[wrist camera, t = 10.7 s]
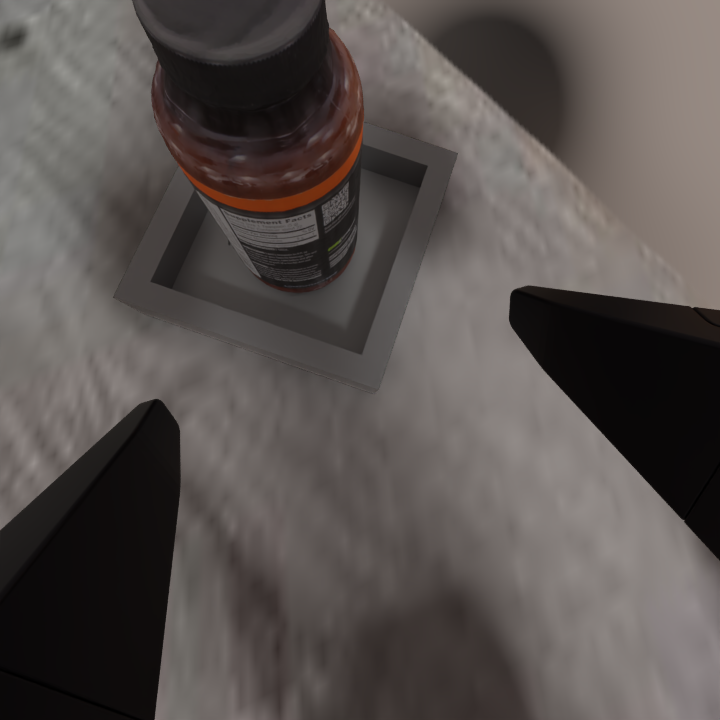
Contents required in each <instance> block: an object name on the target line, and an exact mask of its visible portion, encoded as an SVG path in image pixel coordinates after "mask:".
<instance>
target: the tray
mask: <svg viewBox="0 0 720 720" xmlns="http://www.w3.org/2000/svg"><path fill="white" fill-rule="evenodd" d="M457 155H458V153H456V152H453V151H450V150H447V149H444V148H441V147H438V146H435V145H432V144H429V143H426V142H423V141H420V140H417V139H414V138H411V137H408V136H405V135H402V134H399V133H396V132H393V131H390V130H387V129H384V128H381V127H378V126H375V125H372V124H369V123H366V122H363V144H362V159H361V177H360V197H359V215H358V230H357V241H356V246H355V251H354V254H353V256H352V259H351V261H350V263H349V265H348V266H347V267H346V269H345V270H344V272H343V273H342V274H341V275H340V276H339V277H338V278H337V279H335V280H334V281H333V282H331V283H330V284H328V285H326V286H325V287H323V288H320V289H318V290H314V291H310V292H302V293H293V292H285V291H281V290H277V289H274V288H272V287H270V286H268V285H266V284H265V283H264V282H262V281H260V280H259V279H258V278H257V277H256V276H255V275H254V274H253V273H252V272H251V271H250V270H249V269H248V267H247V266H246V265H245V264H244V262H243V261H242V260H241V258H240V257H239V255H238V253H237V252H236V250H235V249H234V248H233V246H232V244H231V243H230V246H229V245H228V238H227V237H226V235H225V234H224V233H223V231H222V230H221V228H220V227H219V225H218V223H217V222H216V221H215V220H214V218H213V217H212V216H211V214H210V212H209V211H208V209H207V208H206V206H205V204H204V203H203V202H202V200H201V199H200V197H199V196H198V194H197V193H196V191H195V189H194V188H193V186H192V185H191V183H190V181H189V180H188V178H187V177H186V176H185V174H184V173H183V170H182V169H181V167H180V166H179V165H178V167H177V169H176V171H175V173H174V175H173V178H172V180H171V182H170V184H169V186H168V188H167V190H166V192H165V194H164V196H163V198H162V200H161V202H160V204H159V206H158V208H157V210H156V212H155V214H154V216H153V218H152V220H151V222H150V224H149V226H148V228H147V230H146V232H145V234H144V236H143V238H142V240H141V242H140V244H139V246H138V248H137V250H136V252H135V254H134V256H133V258H132V260H131V262H130V264H129V266H128V268H127V270H126V272H125V274H124V276H123V278H122V280H121V282H120V284H119V286H118V288H117V290H116V292H115V294H114V296H113V297H114V298H116V299H118V300H119V301H121V302H123V303H125V304H127V305H129V306H131V307H132V308H134V309H136V310H138V311H140V312H142V313H144V314H146V315H149V316H152V317H155V318H157V319H160V320H163V321H166V322H169V323H172V324H175V325H178V326H180V327H183V328H186V329H189V330H192V331H195V332H198V333H200V334H203V335H206V336H209V337H212V338H215V339H218V340H221V341H223V342H226V343H229V344H232V345H235V346H238V347H241V348H243V349H246V350H249V351H252V352H255V353H258V354H261V355H264V356H266V357H269V358H272V359H275V360H278V361H281V362H284V363H286V364H289V365H292V366H295V367H298V368H301V369H304V370H307V371H309V372H312V373H315V374H318V375H321V376H324V377H327V378H329V379H332V380H335V381H338V382H341V383H344V384H347V385H350V386H352V387H355V388H358V389H361V390H364V391H367V392H370V393H372V394H375V393H376V392H377V391H378V390H379V387H380V384H381V381H382V378H383V375H384V372H385V369H386V366H387V363H388V360H389V357H390V354H391V351H392V348H393V345H394V343H395V340H396V337H397V334H398V331H399V328H400V325H401V322H402V319H403V316H404V313H405V310H406V307H407V304H408V301H409V298H410V295H411V292H412V289H413V286H414V283H415V280H416V277H417V274H418V271H419V268H420V265H421V262H422V259H423V256H424V253H425V250H426V247H427V244H428V241H429V238H430V235H431V232H432V229H433V226H434V223H435V221H436V218H437V215H438V212H439V209H440V206H441V203H442V200H443V197H444V194H445V191H446V188H447V185H448V182H449V179H450V176H451V173H452V170H453V167H454V164H455V161H456V158H457Z"/></svg>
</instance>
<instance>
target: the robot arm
mask: <svg viewBox="0 0 720 720" xmlns="http://www.w3.org/2000/svg"><path fill="white" fill-rule="evenodd" d="M509 321H510V325H511V327H512V328H513V330H514V331H515V332H516V334H517V335H518V336H519V338H520V339H521V340H522V342H523V343H524V345H525V346H526V347H527V349H528V350H529V351H530V353H531V354H532V355H533V357H534V358H535V360H536V361H537V362H538V364H539V365H540V366H541V367H542V369H543V370H544V371H545V372H546V373H547V374H548V375H549V376H550V378H551V379H552V380H553V381H554V382H555V383H556V384H557V385H558V386H559V387H560V388H561V389H562V391H563V392H564V393H565V394H566V395H567V396H568V397H569V398H570V399H571V400H572V401H573V402H574V403H575V405H576V406H577V407H578V408H579V409H580V410H581V411H582V412H583V413H584V414H585V415H586V416H587V417H588V419H589V420H590V421H591V422H592V423H593V424H594V425H595V426H596V427H597V428H598V429H599V430H600V431H601V433H602V434H603V435H604V436H605V437H606V438H607V439H608V440H609V441H610V442H611V443H612V444H613V446H614V447H615V448H616V449H617V450H618V451H619V452H620V453H621V454H622V455H623V456H624V457H625V458H626V460H627V461H628V462H629V463H630V464H631V465H632V466H633V467H634V468H635V469H636V470H637V471H638V472H639V474H640V475H641V476H642V477H643V478H644V479H645V480H646V481H647V482H648V483H649V484H650V485H651V487H652V488H653V489H654V490H655V491H656V492H657V493H658V494H659V495H660V496H661V497H662V498H663V499H664V501H665V502H666V503H667V504H668V505H669V506H670V507H671V508H672V509H673V510H674V511H675V512H676V513H677V515H678V516H679V517H680V518H681V519H682V520H684V522H685V524H686V525H687V526H688V527H689V528H690V529H691V530H692V531H693V532H694V533H695V534H696V535H697V536H698V538H699V539H700V540H701V541H702V542H703V543H704V544H705V545H706V546H707V547H708V548H709V549H710V551H711V552H712V553H713V554H714V555H715V556H716V557H717V558H718V559H719V560H720V310H714V309H706V308H698V307H694V308H691V307H689V306H682V305H675V304H667V303H659V302H652V301H644V300H636V299H629V298H621V297H613V296H606V295H598V294H590V293H583V292H575V291H567V290H560V289H552V288H544V287H537V286H524V287H521V288H517V289H515V290H513V291H512V293H511V296H510V310H509ZM180 483H181V470H180V429H179V425H178V423H177V421H176V420H175V419H174V417H173V416H172V414H171V413H170V412H169V410H168V409H167V407H166V406H165V404H164V403H163V402H162V401H161V400H159V399H153V400H150V401H147V402H144V403H141V404H139V405H138V406H137V407H135V408H134V409H133V410H132V411H131V412H130V413H129V414H128V415H127V416H126V417H124V418H123V419H122V420H121V421H120V422H119V423H118V424H117V425H116V426H115V427H113V428H112V429H111V430H110V431H109V432H108V433H107V434H106V435H105V436H104V437H102V438H101V439H100V440H99V441H98V442H97V443H96V444H95V445H94V446H93V447H91V448H90V449H89V450H88V451H87V452H86V453H85V454H84V455H83V456H82V457H80V458H79V459H78V460H77V461H76V462H75V463H74V464H73V465H72V466H71V467H69V468H68V469H67V470H66V471H65V472H64V473H63V474H62V475H61V476H60V477H58V478H57V479H56V480H55V481H54V482H53V483H52V484H51V485H50V486H49V487H47V488H46V489H45V490H44V491H43V492H42V493H41V494H40V495H39V496H38V497H36V498H35V499H34V500H33V501H32V502H31V503H30V504H29V505H28V506H27V507H25V508H24V509H23V510H22V511H21V512H20V513H19V514H18V515H17V516H16V517H14V518H13V519H12V520H11V521H10V522H9V523H8V524H7V525H6V526H5V527H3V528H2V529H1V530H0V720H154V719H155V710H156V702H157V693H158V684H159V675H160V666H161V657H162V648H163V640H164V631H165V622H166V613H167V604H168V595H169V586H170V578H171V569H172V560H173V551H174V542H175V533H176V524H177V515H178V507H179V498H180Z"/></svg>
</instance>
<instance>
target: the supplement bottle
mask: <svg viewBox="0 0 720 720" xmlns="http://www.w3.org/2000/svg"><path fill="white" fill-rule="evenodd" d="M132 1H133V5H134V8H135V11H136V14H137V16H138V18H139V20H140V22H141V24H142V26H143V28H144V30H145V32H146V34H147V36H148V38H149V40H150V41H151V43H152V45H153V49H154V51H155V53H156V55H157V57H158V61H157V64H156V71H155V74H154V77H153V82H152V89H151V94H152V107H153V111H154V118H155V120H156V123H157V126H158V129H159V131H160V133H161V135H162V137H163V139H164V141H165V143H166V145H167V147H168V149H169V150H170V152H171V154H172V155H173V157H174V158H175V160H176V161H177V163H178V164H179V166H180V167H181V169H182V170H183V173H184V174H185V176H186V177H187V178H188V180H189V181H190V183H191V185H192V186H193V188H194V189H195V191H196V193H197V194H198V196H199V197H200V199H201V200H202V202H203V203H204V204H205V206H206V208H207V209H208V211H209V212H210V214H211V216H212V217H213V218H214V220H215V221H216V222H217V223H218V225H219V227H220V228H221V230H222V231H223V233H224V234H225V235H226V237H227V238H228V245H229V246H230V243H231V244H232V246H233V248H234V249H235V250H236V252H237V253H238V255H239V257H240V258H241V260H242V261H243V262H244V264H245V265H246V266H247V267H248V269H249V270H250V271H251V272H252V273H253V274H254V275H255V276H256V277H257V278H258V279H259V280H260V281H262V282H264V283H265V284H266V285H268V286H270V287H272V288H274V289H277V290H281V291H285V292H293V293H302V292H310V291H314V290H318V289H320V288H323V287H325V286H326V285H328V284H330V283H331V282H333V281H334V280H335V279H337V278H338V277H339V276H340V275H341V274H342V273H343V272H344V270H345V269H346V267H347V266H348V265H349V263H350V261H351V259H352V256H353V254H354V251H355V246H356V241H357V230H358V215H359V197H360V177H361V159H362V144H363V119H364V108H363V94H362V86H361V81H360V77H359V74H358V71H357V68H356V65H355V63H354V60H353V58H352V56H351V54H350V52H349V50H348V49H347V48H346V46H345V44H344V43H343V42H342V41H341V39H340V38H339V37H338V36H337V34H336V33H335V31H334V30H332V29H331V28H329V23H328V20H327V14H326V6H325V0H132Z"/></svg>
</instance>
